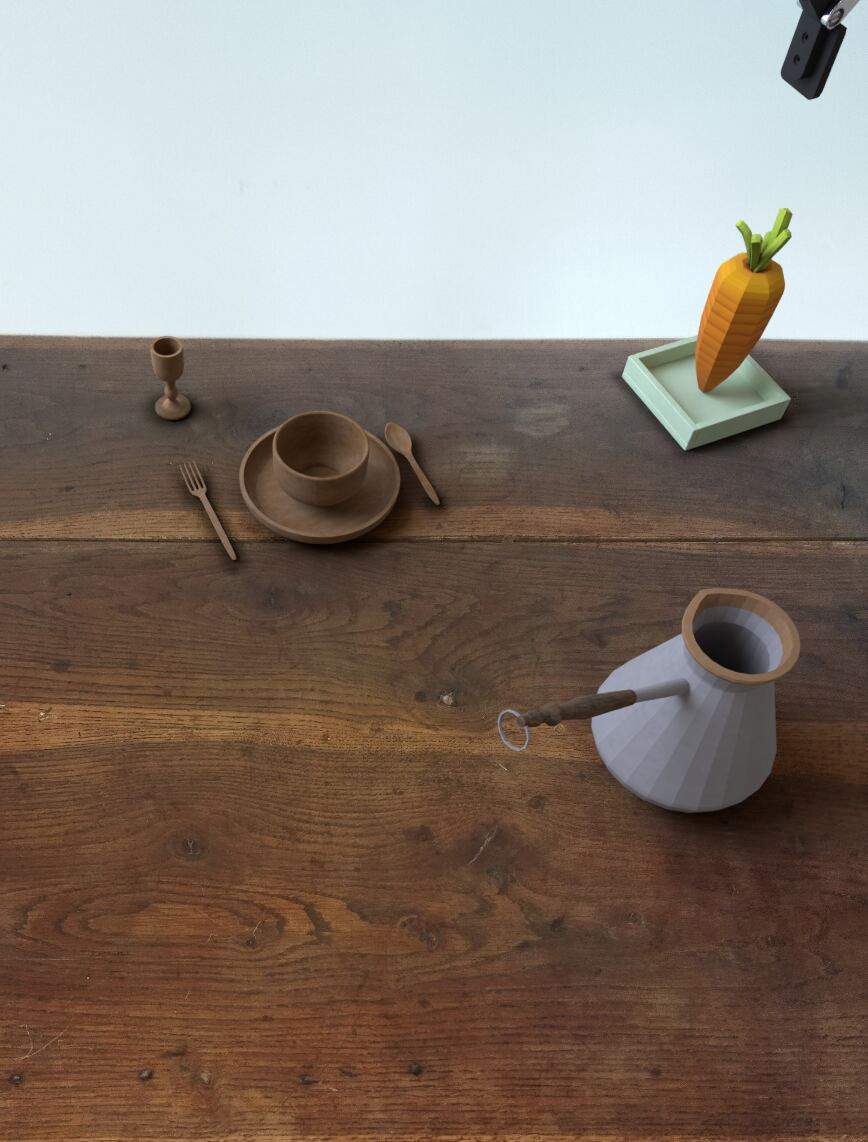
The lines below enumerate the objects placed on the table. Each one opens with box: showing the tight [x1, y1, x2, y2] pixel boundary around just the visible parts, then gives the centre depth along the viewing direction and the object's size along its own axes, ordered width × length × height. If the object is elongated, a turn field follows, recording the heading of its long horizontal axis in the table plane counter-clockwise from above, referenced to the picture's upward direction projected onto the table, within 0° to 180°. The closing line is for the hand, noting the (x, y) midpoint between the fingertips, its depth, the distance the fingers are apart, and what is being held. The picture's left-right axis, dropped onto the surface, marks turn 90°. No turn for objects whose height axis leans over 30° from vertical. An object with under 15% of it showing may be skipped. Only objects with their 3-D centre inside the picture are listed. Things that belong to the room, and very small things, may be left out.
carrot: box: [695, 207, 794, 393], centre depth 80 cm, size 5×5×15 cm
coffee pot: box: [497, 587, 801, 814], centre depth 62 cm, size 21×12×15 cm, turn 118°
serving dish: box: [621, 334, 792, 452], centre depth 86 cm, size 9×9×2 cm
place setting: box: [149, 335, 441, 561], centre depth 80 cm, size 18×20×6 cm
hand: (864, 69), depth 66 cm, fingers open, 9 cm apart
